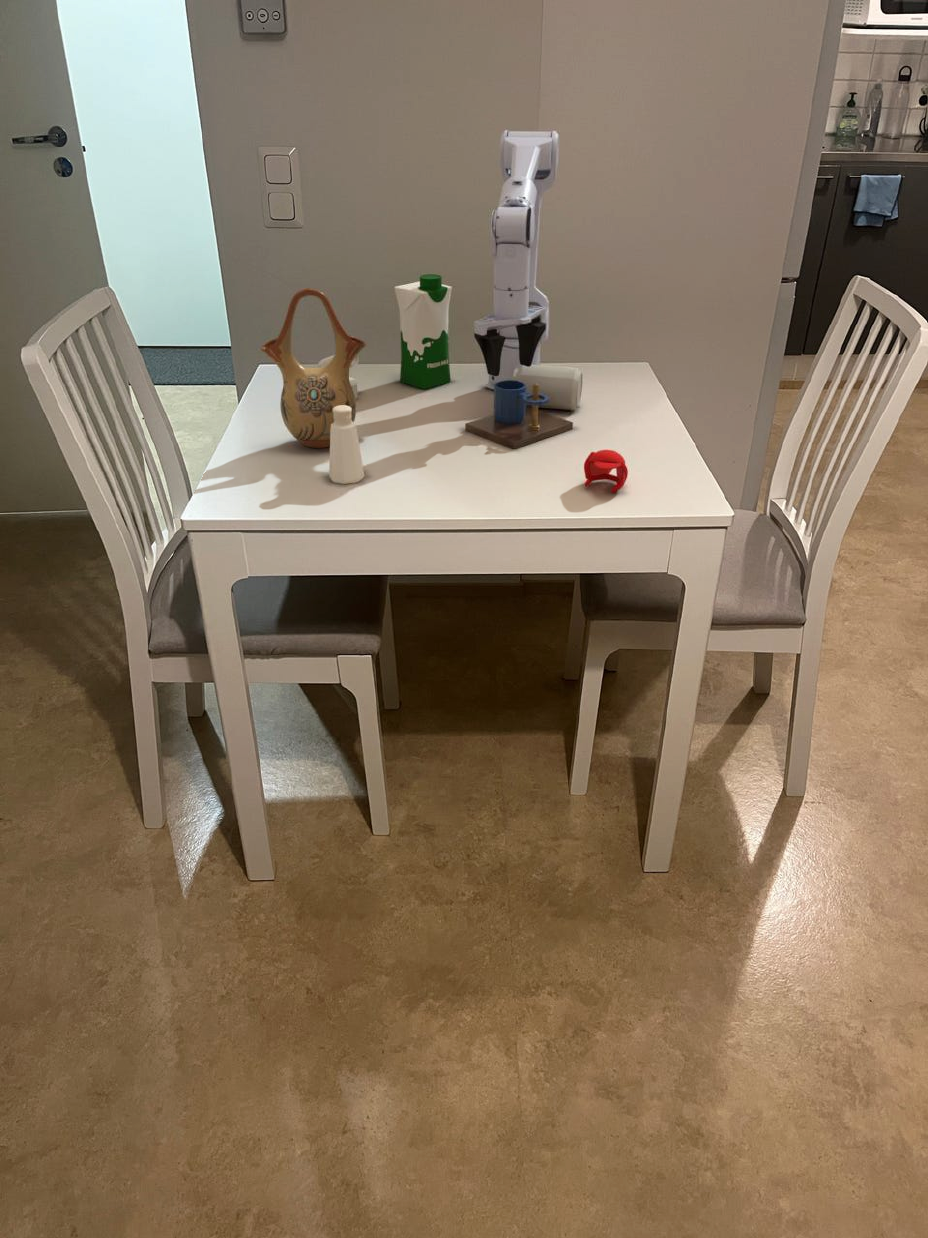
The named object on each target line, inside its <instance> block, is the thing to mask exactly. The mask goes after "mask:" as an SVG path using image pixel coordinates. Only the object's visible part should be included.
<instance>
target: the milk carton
mask: <svg viewBox="0 0 928 1238" xmlns="http://www.w3.org/2000/svg"><path fill="white" fill-rule="evenodd" d="M442 281H443V280H442V275H440V274H434V273H433V274H432V273H430V274H429V273H427V274H422V275H420V276H419V281H415V282H411V283H407V284H402V285H397V286H394V292H395V296H396V301H397V305H398V308H399V327H400V331H399V332H400V374H399V375H400V376H399V378H400V379H399V382H400V383H403V384H407V385H409V386H413V387H416V388H419V389H422V390H428V389H430V388H434V387H438V386H440V385H441V386H442V385H444V384H448V383H451V380H452V379H451V367H450V366H451V365H450V348H449V347H450V346H449V343H450V342H449V308H450V301H451V295H452V291H453V286H450V285H447V284H442Z"/></svg>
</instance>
